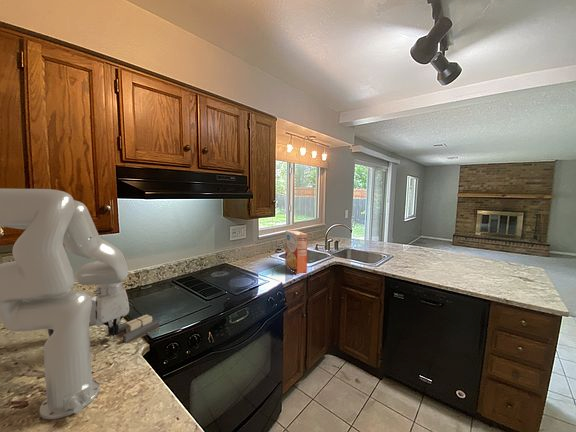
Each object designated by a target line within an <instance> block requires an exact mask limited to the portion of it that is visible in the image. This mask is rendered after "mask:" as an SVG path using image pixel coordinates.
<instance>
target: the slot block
mask: <svg viewBox="0 0 576 432" xmlns="http://www.w3.org/2000/svg"><path fill="white" fill-rule="evenodd" d="M144 315H145V314H143V315H141V316H139V317H136V318H133V319H130V320H129V321H126V322H123V323H121V324H118V325H119V331H118V334H117V335H115V336H114V337H116V338H118V339H119V340H121V341H122V342H124V343H125V344H127V345H128V344H130V343H132V342H134V341H136V340H138V339H140V338H142V337H144V336H148V334H146V333H147V332H150V333H153V332H155V331H157V330H159V329H161V327H160V323H159V321H158V320H154V321H152V322H151V323H149V324H147V325H145V326H142V327H140V328H138V329H135V330H133V331H131V332H128V333H127V332H126V323H127V322H130V321H132V320H135V319H137V320H138V318H140V317H142V316H144ZM150 333H149V334H150Z"/></svg>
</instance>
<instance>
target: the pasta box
mask: <svg viewBox="0 0 576 432" xmlns="http://www.w3.org/2000/svg"><path fill="white" fill-rule="evenodd" d="M284 257H285V258H284V260H285V261H284V262H285V264H284V266H285V265H286V266H287V267H288V268H290V269H291V270H292V271H294V272H295V273H296V274H299V273H307V272H308V270H307V268H308V233H305V232H302V231H299V230H297V229H290V230H288V229H287V230H285V255H284ZM288 268H287V269H288ZM292 271H291V272H292ZM296 274H295V275H296ZM307 274H308V273H307Z"/></svg>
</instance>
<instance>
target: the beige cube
mask: <svg viewBox="0 0 576 432" xmlns="http://www.w3.org/2000/svg"><path fill="white" fill-rule="evenodd" d="M143 315H144V316H143ZM143 315H141V316H142V317H141V316H139V317H140V318H138V317H137V318H138V320H139V321H141V327H142V326H145V325H147V324H149V323H151V322H153V316H152V315H149V314H143Z"/></svg>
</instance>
